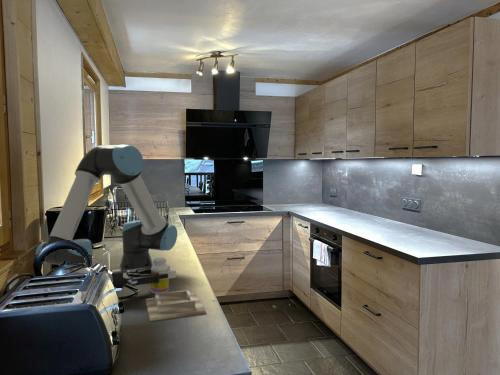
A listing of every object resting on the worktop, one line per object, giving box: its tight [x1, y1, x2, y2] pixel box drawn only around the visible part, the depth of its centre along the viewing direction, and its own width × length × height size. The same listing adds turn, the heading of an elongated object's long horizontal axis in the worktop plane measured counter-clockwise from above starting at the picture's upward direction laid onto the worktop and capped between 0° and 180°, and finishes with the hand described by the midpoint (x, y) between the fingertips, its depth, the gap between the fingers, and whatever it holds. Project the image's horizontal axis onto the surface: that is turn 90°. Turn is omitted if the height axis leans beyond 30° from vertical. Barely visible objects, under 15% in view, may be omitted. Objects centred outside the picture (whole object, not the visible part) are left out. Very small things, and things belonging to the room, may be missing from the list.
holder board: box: [145, 289, 207, 322], centre depth 131 cm, size 18×18×4 cm
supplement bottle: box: [150, 257, 170, 295], centre depth 146 cm, size 7×7×13 cm
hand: (172, 271), depth 148 cm, fingers closed on supplement bottle, 7 cm apart
